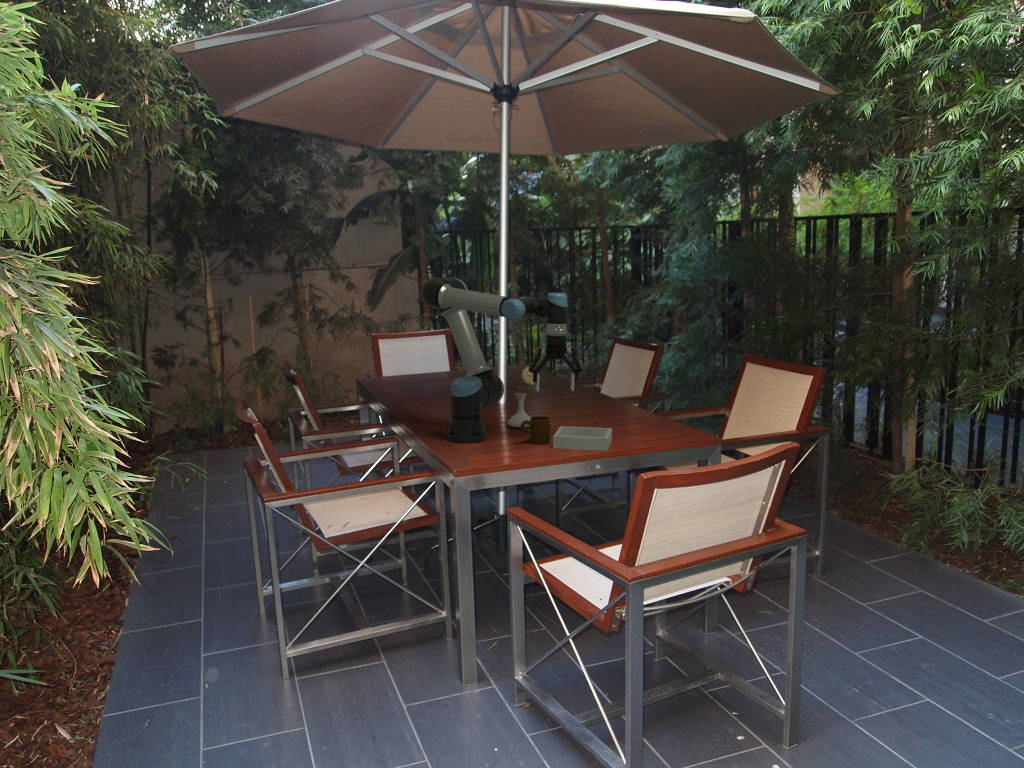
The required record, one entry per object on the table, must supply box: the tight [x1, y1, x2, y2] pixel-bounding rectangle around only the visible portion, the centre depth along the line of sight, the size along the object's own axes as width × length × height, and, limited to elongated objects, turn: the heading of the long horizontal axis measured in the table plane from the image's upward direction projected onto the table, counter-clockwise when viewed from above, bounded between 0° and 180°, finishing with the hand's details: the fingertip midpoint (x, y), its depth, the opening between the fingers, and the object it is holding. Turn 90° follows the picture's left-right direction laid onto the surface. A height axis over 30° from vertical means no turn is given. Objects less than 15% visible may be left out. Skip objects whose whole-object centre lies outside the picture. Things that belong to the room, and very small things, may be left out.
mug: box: [520, 415, 551, 445], centre depth 302 cm, size 12×8×9 cm, turn 117°
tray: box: [552, 425, 613, 452], centre depth 300 cm, size 20×18×4 cm
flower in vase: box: [507, 366, 536, 429], centre depth 330 cm, size 13×11×25 cm
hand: (554, 390), depth 303 cm, fingers open, 13 cm apart
